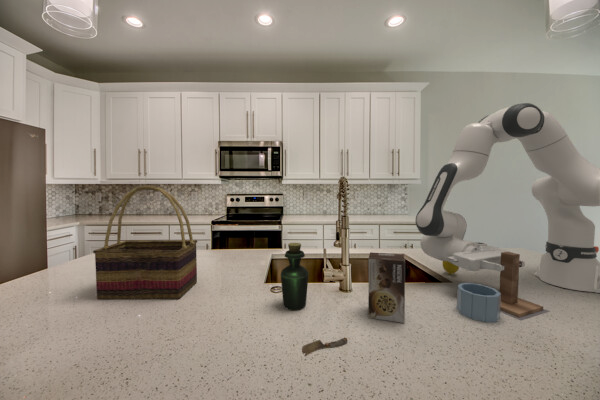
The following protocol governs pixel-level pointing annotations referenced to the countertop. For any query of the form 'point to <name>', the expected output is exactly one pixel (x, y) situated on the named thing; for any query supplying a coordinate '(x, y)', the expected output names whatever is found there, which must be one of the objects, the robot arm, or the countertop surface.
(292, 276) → the potion bottle
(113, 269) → the basket
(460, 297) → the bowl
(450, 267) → the lemon
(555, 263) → the robot arm
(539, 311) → the mat
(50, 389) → the countertop surface
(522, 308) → the wooden post on board
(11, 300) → the countertop surface
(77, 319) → the countertop surface
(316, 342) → the meat cleaver
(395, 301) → the coffee box
